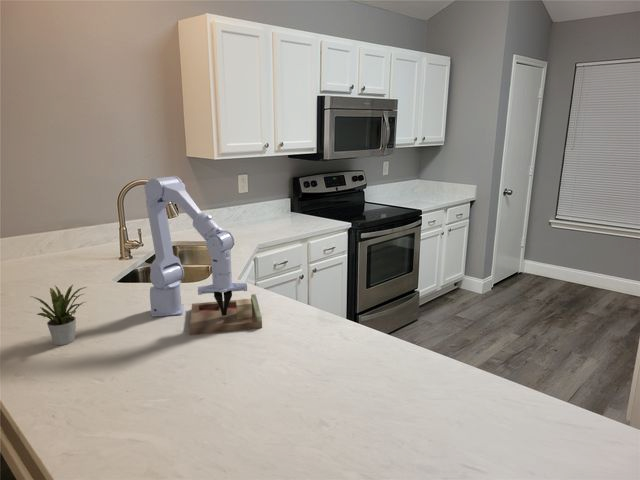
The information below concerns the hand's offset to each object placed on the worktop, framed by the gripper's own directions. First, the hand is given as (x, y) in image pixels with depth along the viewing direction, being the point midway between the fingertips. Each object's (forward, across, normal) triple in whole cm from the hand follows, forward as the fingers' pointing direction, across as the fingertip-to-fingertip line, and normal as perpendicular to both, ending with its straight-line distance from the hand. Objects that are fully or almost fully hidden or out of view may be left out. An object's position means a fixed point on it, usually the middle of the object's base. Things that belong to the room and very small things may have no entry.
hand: (224, 314), depth 139 cm
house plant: (+3, -43, -2) cm, 43 cm away
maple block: (+1, +6, 0) cm, 6 cm away
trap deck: (+3, 0, +4) cm, 5 cm away
